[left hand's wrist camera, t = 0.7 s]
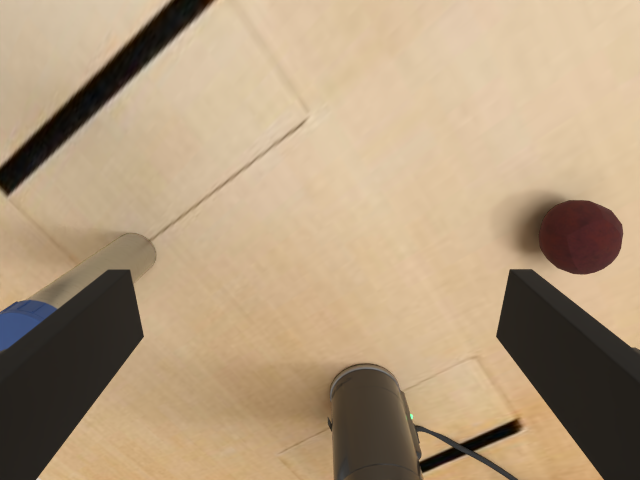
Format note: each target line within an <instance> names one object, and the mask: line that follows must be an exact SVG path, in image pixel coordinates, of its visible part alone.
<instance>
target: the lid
mask: <svg viewBox="0 0 640 480" xmlns="http://www.w3.org/2000/svg"><path fill="white" fill-rule="evenodd" d="M56 310H57V308H55V307H54V306H52V305H50V304H47V303H45V302H41V301H36V300H24V301H20V302H15V303H13V304H12V305H10V306H9V307H7V308H6V309H4V310H3V311H1V312H0V351H2V350H4V349H7V348H9V347H10V346H11V345H13V344H14V343H15V342H16V341H18V340H19V339H20V338H21V337H23V336H24V335H25V334H27V333H28V332H29V331H30V330H32V329H33V328H34V327H35V326H37V325H38V324H39V323H41V322H42V321H43V320H44V319H46V318H47V317H48V316H49V315H51V314H52V313H53V312H55V311H56Z"/></svg>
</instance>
